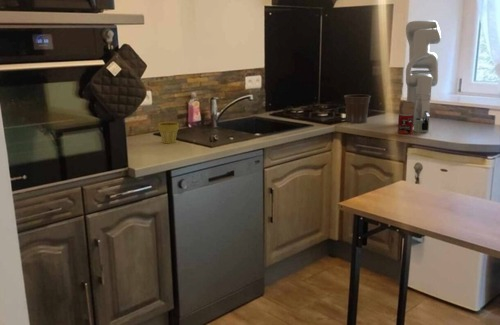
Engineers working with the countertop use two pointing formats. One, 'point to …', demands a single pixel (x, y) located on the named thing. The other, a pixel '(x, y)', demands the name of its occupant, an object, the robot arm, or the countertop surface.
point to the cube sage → (419, 126)
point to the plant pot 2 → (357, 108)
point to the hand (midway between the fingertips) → (421, 128)
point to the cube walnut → (406, 107)
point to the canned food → (405, 124)
